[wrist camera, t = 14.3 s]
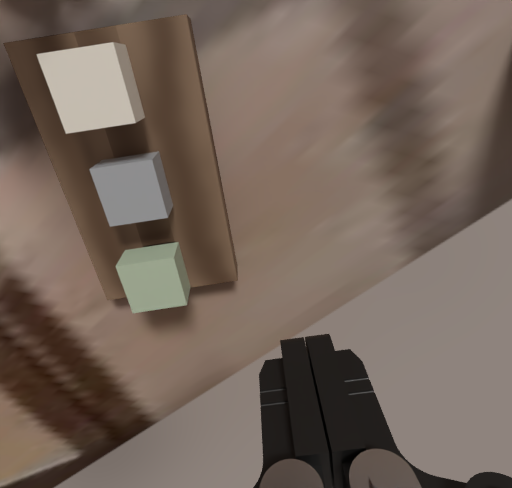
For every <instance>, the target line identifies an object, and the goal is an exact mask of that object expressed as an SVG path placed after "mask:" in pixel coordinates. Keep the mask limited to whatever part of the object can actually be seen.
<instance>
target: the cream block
mask: <svg viewBox="0 0 512 488" xmlns="http://www.w3.org/2000/svg"><path fill="white" fill-rule="evenodd" d="M36 55H37V58H38V60H39V63H40V66H41V68H42V71H43V74H44V76H45V79H46V82H47V84H48V87H49V90H50V92H51V95H52V98H53V100H54V103H55V106H56V108H57V111H58V114H59V117H60V119H61V122H62V125H63V127H64V130H65V133H66V134H68V133H74V132H81V131H87V130H94V129H100V128H107V127H113V126H120V125H126V124H132V123H137V122H138V121H140V120H142V119H143V118H145V115H144V112H143V108H142V104H141V100H140V97H139V93H138V89H137V85H136V82H135V78H134V74H133V71H132V67H131V63H130V59H129V56H128V52H127V48H126V45H125V44H120V43H115V42H111V43H104V44H98V45H92V46H85V47H79V48H73V49H66V50H60V51H53V52H47V53H41V54H36Z"/></svg>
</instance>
